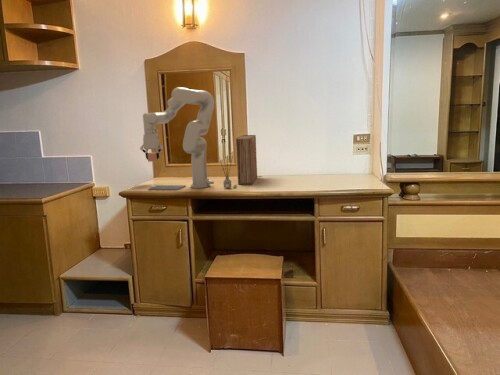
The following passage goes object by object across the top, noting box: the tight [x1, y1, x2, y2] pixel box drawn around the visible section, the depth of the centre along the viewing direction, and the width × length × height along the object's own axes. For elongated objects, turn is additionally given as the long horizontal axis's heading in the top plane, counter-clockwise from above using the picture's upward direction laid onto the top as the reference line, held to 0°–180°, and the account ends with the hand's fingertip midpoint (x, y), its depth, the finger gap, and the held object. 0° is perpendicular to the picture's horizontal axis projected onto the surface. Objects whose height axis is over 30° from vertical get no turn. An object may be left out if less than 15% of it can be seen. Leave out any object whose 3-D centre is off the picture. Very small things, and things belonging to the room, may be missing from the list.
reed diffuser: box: [218, 155, 238, 189], centre depth 240 cm, size 10×7×20 cm
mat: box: [148, 184, 186, 191], centre depth 248 cm, size 20×12×1 cm, turn 77°
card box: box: [147, 152, 158, 163], centre depth 261 cm, size 6×8×5 cm, turn 10°
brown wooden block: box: [235, 134, 258, 186], centre depth 259 cm, size 25×9×30 cm, turn 171°
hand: (152, 158), depth 262 cm, fingers closed on card box, 5 cm apart
